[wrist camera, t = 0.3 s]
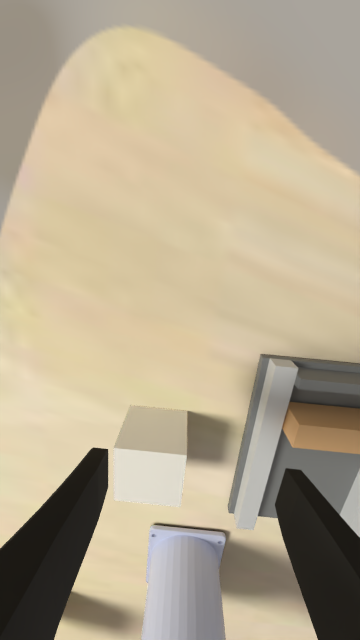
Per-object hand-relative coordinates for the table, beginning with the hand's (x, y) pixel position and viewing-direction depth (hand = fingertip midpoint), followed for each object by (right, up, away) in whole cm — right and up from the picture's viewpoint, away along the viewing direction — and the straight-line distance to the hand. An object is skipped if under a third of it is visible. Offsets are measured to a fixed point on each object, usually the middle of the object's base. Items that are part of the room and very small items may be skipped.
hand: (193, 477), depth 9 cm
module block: (-3, -4, +11) cm, 12 cm away
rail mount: (+11, -5, +11) cm, 16 cm away
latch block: (+12, -1, +9) cm, 15 cm away
